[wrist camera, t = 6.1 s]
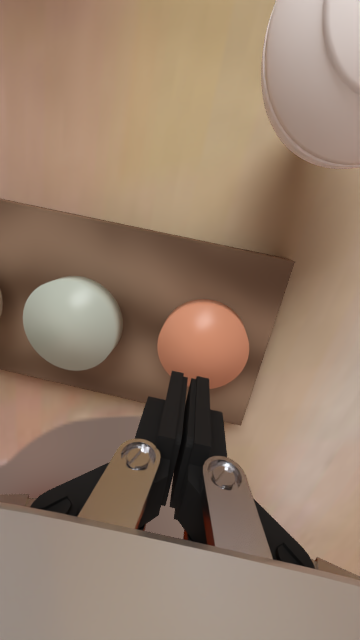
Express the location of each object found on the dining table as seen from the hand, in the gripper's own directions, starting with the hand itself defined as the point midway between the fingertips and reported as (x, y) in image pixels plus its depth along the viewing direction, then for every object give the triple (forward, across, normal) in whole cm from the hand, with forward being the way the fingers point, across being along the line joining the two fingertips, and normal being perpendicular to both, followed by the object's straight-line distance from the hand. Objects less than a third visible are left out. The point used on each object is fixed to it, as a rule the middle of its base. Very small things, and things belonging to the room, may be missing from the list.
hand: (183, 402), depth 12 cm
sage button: (+7, +8, 0) cm, 10 cm away
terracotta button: (+8, -1, 0) cm, 8 cm away
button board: (+10, +8, 0) cm, 13 cm away
